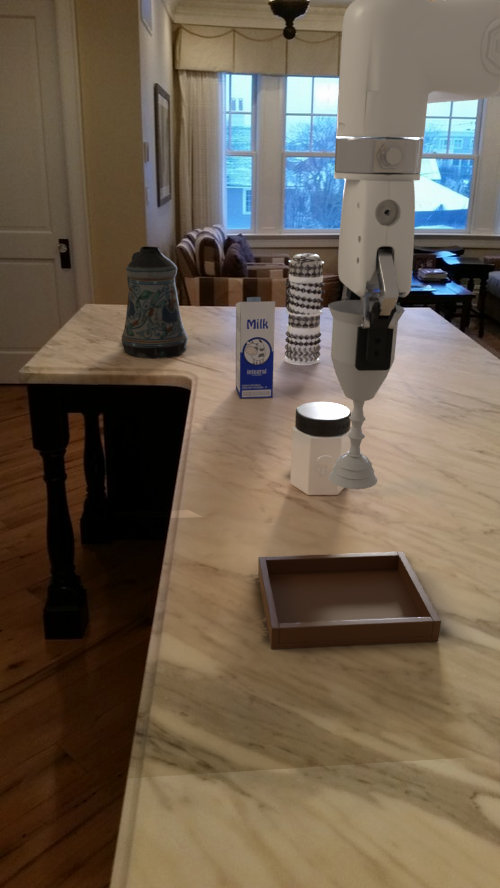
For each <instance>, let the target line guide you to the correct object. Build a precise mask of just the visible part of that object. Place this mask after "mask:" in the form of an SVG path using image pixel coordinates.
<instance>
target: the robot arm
mask: <svg viewBox="0 0 500 888" xmlns="http://www.w3.org/2000/svg"><path fill="white" fill-rule="evenodd" d="M341 28H342V29H341V45H340V46H341V47H340V61H339V62H340V63H339V81H338V98H337V114H336V115H337V116H336V134H335V135H336V136H335V138H336V139H335V153H334V154H335V155H334V171H333V179H335V180H344V184H343V192H342V193H343V194H342V199H341V213H340V224H339V239H338V252H337V253H338V254H337V274H338V279H339V281H340V282H341V283H342V287H343V288H342V295H341V300H340V301H345V300H361V322H362V327H358V329H357V343H356V357H355V367H356V369H357V370H359V371H380V370H388V369H389V368H390V363H391V352H392V342H393V331H394V325H395V314H394V313H395V312H396V308H395V307H396V305H397V302H398V300H399V298H406V297H407V296H408V295H409V294H410V292H411V290H412V281H413V266H414V265H413V262H414V248H415V247H414V245H415V244H414V243H415V223H416V196H415V195H416V194H415V192H416V191H415V181H420V180H421V171H422V159H423V150H424V149H423V148H424V139H425V132H426V131H425V130H426V121H427V113H428V112H427V110H428V105H429V104H437V103H449V102H451V103H455V102H456V103H457V102H466V101H477V100H478V101H479V100H483V99H487V98H491V97H494V96H496V95H498V94H500V0H353V1H352V2H351V3H350V4H349V5H348V6H347V8H346V10H345V11H344V14H343V19H342V27H341ZM374 290H379V291H374ZM370 302H374V304H373V306H372V309H371V312H370ZM390 369H391V368H390Z"/></svg>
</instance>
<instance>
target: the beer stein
mask: <svg viewBox="0 0 500 888" xmlns="http://www.w3.org/2000/svg"><path fill="white" fill-rule="evenodd" d="M125 271H126V275H127V277H126V279H127V286H128V287H127V288H128V294H127V303H126V315H125V323H124V328H123V332H122V334H121V343H122V348H123V351H124V354H126V355H128V356H131V357H133V356H135V357H134V358H139V357H142V358H141V359H165V358H164V357H168V358H172V357H171V356H173V357H177V356H181V355H182V354H183V353H185V352H186V351H187V343H188V339H189V337H188V334H187V332H186V329H185V326H184V323H183V320H182V315H181V314H182V313H181V310H180V303H179V298H178V291H177V286H176V276H177V274H178V267H177V265H176V264H175V262H173V261H172V260H171V259H170V258H168V257H167V256H166V255H165V254H163V252H161V251H160V247H158V246H141V247H140V249H139V251H136V252H134V253H132V255H131V261H130V262H129V263H128V265H127V266H126V268H125ZM176 355H177V356H176Z"/></svg>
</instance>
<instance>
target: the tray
mask: <svg viewBox="0 0 500 888" xmlns="http://www.w3.org/2000/svg"><path fill="white" fill-rule="evenodd" d="M257 562H258V564H257V577H258V582H259V588H260V593H261V599H262V605H263V610H264V611H263V612H264V616H265V622H266V628H267V633H268V639H269V640H268V641H269V644H270V645H269V646H270V649H271V650H278V649H279V650H280V649H300V648H303V649H304V648H321V647H322V648H323V647H341V646H342V647H343V646H344V647H345V646H347V647H348V646H363V645H364V646H366V645H386V644H387V645H388V644H406V643H408V644H411V643H429V642H439V638H440V632H441V625H442V620H441V617H440V616H439V615H438V612H437V610H436V609H435V607H434V605H433V603H432V601H431V600H430V598H429V596H428V594H427V592H426V591H425V589H424V587H423V585H422V584H421V582H420V580H419V578H418V576H417V574H416V572H415V571H414V569H413V567H412V565H411V563H410V561H409V560H408V557H407V556H406V554H405V552H404V551H386V552H359V553H358V552H357V553H331V554H329V553H328V554H304V555H303V554H302V555H301V554H300V555H275V556H272V555H271V556H258V561H257Z"/></svg>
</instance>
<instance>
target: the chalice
mask: <svg viewBox="0 0 500 888" xmlns="http://www.w3.org/2000/svg"><path fill="white" fill-rule="evenodd" d="M373 304H374V302H370V312H371V309H372V306H373ZM327 307H328V310H329V312H330V314H331V316H332V329H331V345H330V347H331V348H330V359H331V361H332V365H333V369H334V373H335V375H336V378H337V380H338V383H339V385H340V387H341V390H342V392H343V394H344V396H345V398H347V399H350V400H351V401H352V404H353V409H352V411H351V416H350V417H349V419H350V420H351V427H352V429H351V432H350V433H348V434H347V436H348V437H349V438H350V442H351V447H350V450H349V451H348V452H347V454H344V455H342V456H341V457H340V458H338V460H337V461H336V464H335V465H334V467H333V471H332V472H331V473H330V474H329V480H330V481H331V482H332V483H333V484H335V485H337V486H340V487H343V489H348V490H364V489H370V488H372V487H374V486H376V484H377V483H378V478H377V476H376V474H375V469H374V468H373V462H371V460H370V458H369V457H368V456H367V455H364V454H363V452H361V443H362V441H363V440H364V439H365V438H366V435H365V434H364V433H363V430H362V426H363V424H364V422H365V421H366V417H365V415H364V405H365V402H367V401H371V400H373V399H374V398H375V396H376V394H377V393H378V391H379V390H380V388H381V386H382V385H383V383H384V382H385V380H386V378H387V377H388V375H389V372H390V370H391V369H392V366H393V364H394V362H395V358H396V357H395V356H396V346H397V336H398V325H399V320H400V319H401V317H402V316H403V314H404V312H405V311H406V310H405V308H404V307H403V306H400V305H398V304H396V307H395V308H396V312H395V313H394V314H395V325H394V331H393V342H392V352H391V363H390V368H389V369H388V370H380V371H359V370H357V369H356V367H355V357H356V343H357V329H358V327H362V322H361V300H345V301H341V300H337V301H333V302H330V303H328V305H327Z"/></svg>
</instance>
